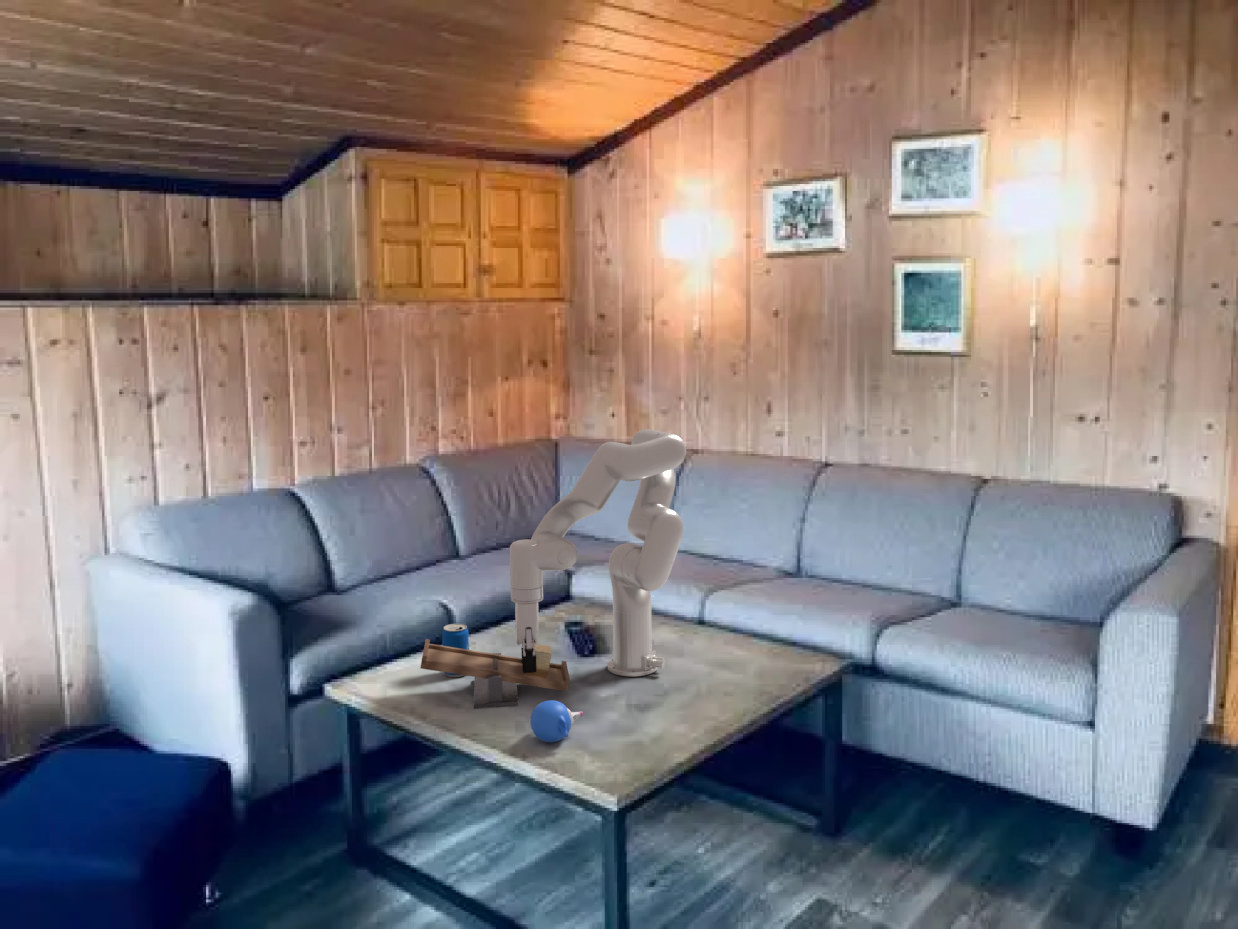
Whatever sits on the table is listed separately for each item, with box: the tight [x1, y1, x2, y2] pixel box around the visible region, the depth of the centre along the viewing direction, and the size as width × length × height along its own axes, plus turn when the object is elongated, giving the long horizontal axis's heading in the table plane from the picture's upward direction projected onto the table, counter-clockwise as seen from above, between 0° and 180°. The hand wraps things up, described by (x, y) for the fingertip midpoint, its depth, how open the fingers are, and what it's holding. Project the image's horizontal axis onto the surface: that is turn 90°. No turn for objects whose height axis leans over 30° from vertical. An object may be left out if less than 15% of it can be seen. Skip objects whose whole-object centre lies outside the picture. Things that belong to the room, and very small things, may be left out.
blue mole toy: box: [530, 699, 584, 743], centre depth 222 cm, size 12×12×8 cm
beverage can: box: [441, 623, 470, 678], centre depth 260 cm, size 6×6×12 cm
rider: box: [526, 643, 553, 678], centre depth 248 cm, size 5×5×6 cm
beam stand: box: [473, 652, 519, 710], centre depth 248 cm, size 10×18×7 cm, turn 7°
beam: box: [419, 638, 571, 692], centre depth 247 cm, size 34×13×3 cm, turn 97°
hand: (529, 667), depth 248 cm, fingers closed on rider, 5 cm apart
